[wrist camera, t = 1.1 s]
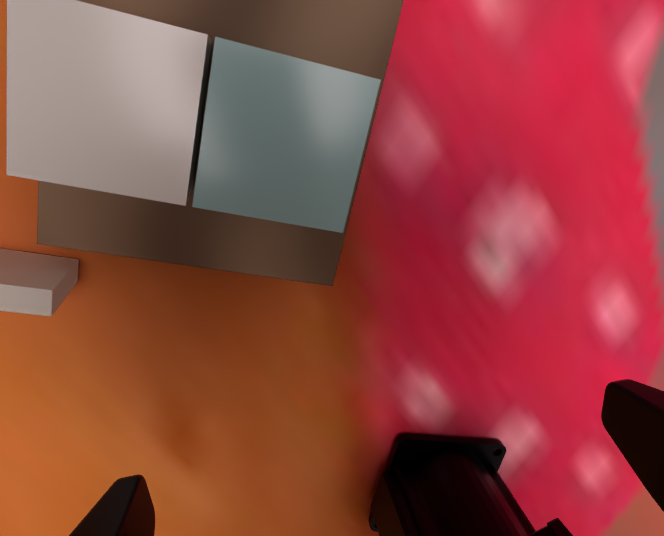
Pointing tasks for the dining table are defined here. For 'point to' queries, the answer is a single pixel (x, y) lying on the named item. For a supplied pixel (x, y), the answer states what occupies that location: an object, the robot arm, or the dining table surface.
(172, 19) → the board
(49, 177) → the white tile
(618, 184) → the dining table surface
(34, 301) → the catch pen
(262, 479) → the dining table surface
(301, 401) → the dining table surface
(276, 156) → the sage green block
